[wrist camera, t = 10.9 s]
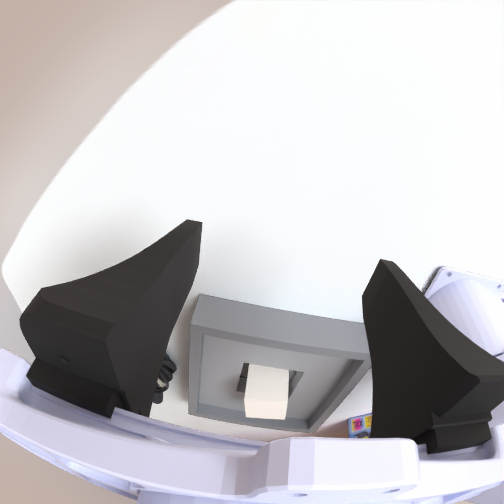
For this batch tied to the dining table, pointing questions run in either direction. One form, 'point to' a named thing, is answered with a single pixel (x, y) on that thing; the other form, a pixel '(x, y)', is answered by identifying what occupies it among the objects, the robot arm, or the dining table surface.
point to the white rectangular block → (266, 392)
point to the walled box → (272, 361)
